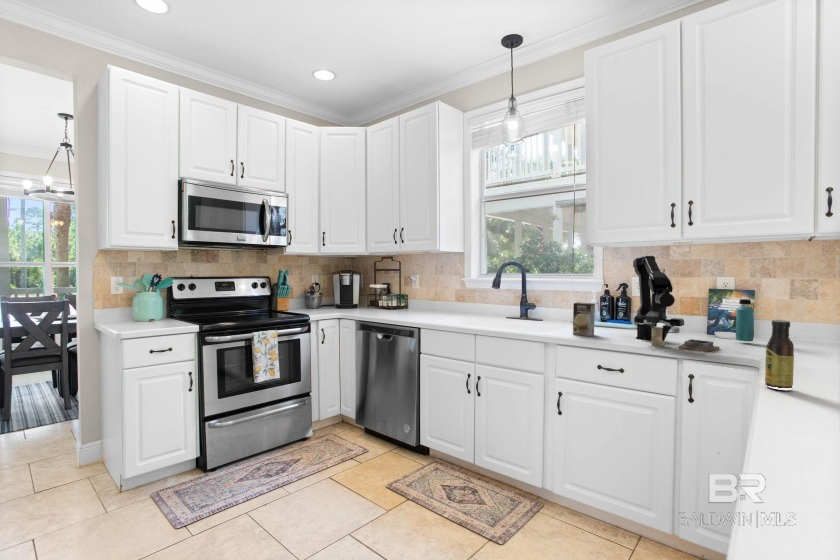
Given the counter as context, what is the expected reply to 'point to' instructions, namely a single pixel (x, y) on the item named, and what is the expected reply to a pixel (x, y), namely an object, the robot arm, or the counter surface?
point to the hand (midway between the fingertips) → (658, 340)
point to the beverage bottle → (744, 322)
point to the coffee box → (583, 319)
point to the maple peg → (657, 337)
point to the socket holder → (699, 345)
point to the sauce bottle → (779, 356)
